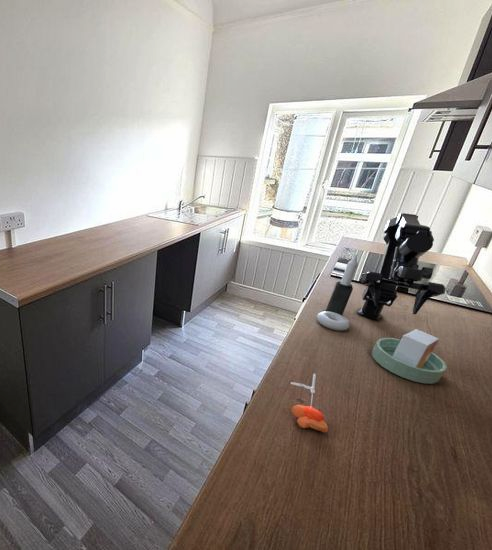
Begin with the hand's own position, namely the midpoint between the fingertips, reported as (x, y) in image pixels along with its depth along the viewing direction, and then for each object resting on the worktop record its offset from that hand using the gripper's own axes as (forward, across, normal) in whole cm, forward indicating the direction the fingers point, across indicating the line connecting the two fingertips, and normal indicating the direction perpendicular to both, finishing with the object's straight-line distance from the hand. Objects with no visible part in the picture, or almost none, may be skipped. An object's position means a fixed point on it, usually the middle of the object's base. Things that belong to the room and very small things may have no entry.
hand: (395, 310), depth 91 cm
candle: (+3, -12, +20) cm, 24 cm away
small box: (+16, +5, 0) cm, 17 cm away
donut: (+8, -13, +13) cm, 20 cm away
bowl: (+16, +5, +1) cm, 17 cm away
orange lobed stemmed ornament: (+37, -21, -32) cm, 53 cm away
